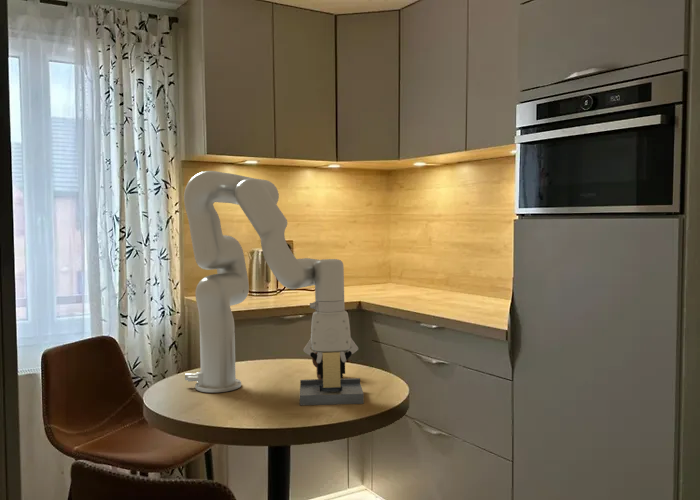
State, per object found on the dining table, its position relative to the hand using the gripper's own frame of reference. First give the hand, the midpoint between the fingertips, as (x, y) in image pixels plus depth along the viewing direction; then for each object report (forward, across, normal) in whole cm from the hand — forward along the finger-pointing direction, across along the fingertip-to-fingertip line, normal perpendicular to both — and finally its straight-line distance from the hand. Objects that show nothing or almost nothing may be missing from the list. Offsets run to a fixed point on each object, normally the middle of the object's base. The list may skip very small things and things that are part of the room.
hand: (331, 376), depth 162 cm
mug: (+6, -1, +20) cm, 21 cm away
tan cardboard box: (+2, 0, 0) cm, 2 cm away
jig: (+6, 0, 0) cm, 6 cm away
